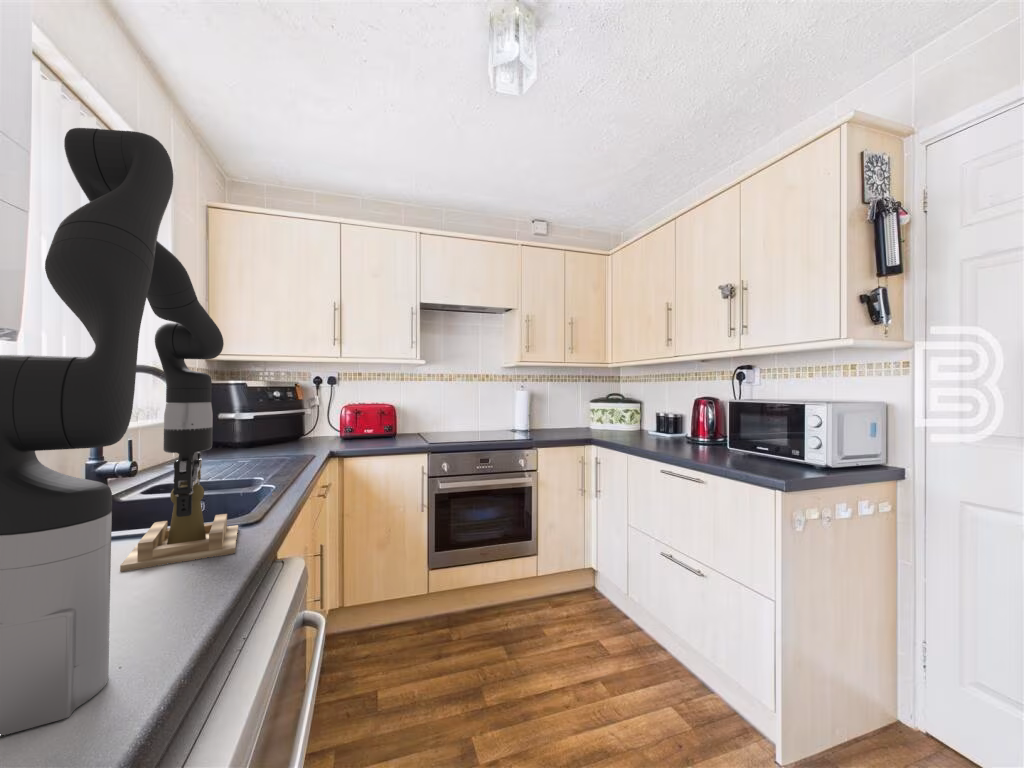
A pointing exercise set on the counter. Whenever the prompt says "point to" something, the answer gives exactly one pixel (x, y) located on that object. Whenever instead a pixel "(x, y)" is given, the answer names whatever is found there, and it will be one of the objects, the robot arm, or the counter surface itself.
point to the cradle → (181, 545)
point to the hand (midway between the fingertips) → (187, 510)
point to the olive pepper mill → (188, 520)
